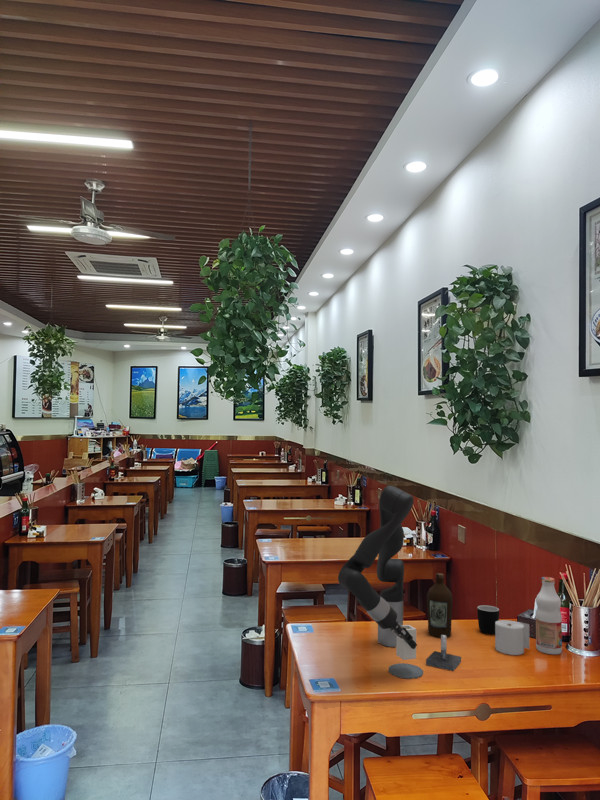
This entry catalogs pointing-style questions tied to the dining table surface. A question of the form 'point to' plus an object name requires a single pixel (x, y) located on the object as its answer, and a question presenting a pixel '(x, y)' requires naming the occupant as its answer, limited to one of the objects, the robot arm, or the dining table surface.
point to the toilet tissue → (511, 637)
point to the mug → (487, 618)
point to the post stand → (443, 657)
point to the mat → (405, 671)
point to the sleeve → (406, 645)
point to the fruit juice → (548, 619)
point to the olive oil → (439, 608)
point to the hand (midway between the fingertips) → (410, 644)
